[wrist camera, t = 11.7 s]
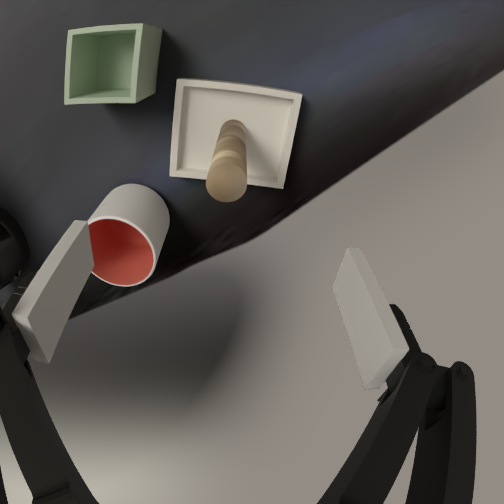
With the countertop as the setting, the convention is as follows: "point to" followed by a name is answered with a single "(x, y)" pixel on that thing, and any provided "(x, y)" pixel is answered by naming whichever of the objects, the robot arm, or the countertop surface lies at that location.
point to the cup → (128, 234)
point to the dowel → (228, 163)
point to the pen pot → (112, 63)
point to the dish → (238, 108)
